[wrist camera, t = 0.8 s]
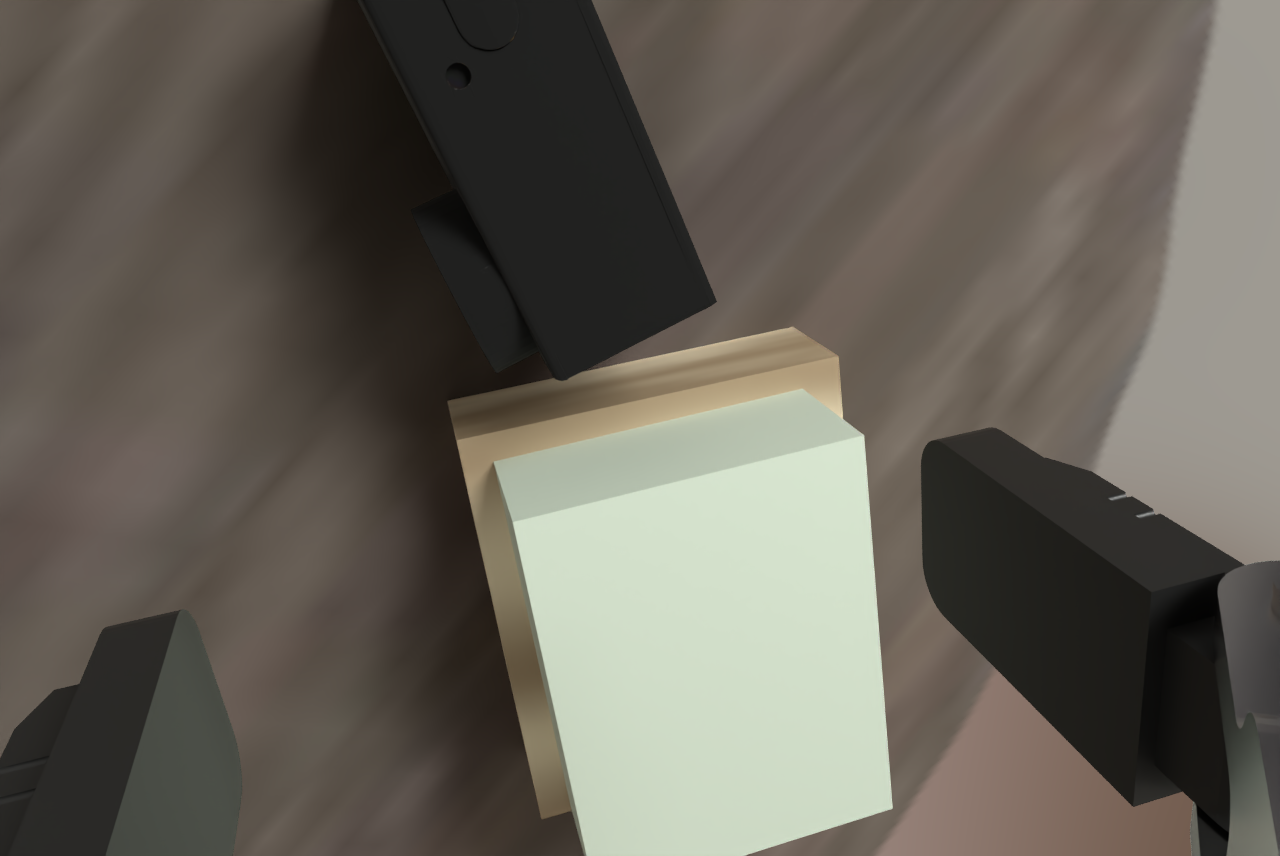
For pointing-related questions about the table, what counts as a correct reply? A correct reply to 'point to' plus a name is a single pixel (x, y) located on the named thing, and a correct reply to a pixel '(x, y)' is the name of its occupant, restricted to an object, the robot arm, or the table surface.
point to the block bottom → (589, 412)
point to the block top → (707, 627)
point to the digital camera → (540, 180)
